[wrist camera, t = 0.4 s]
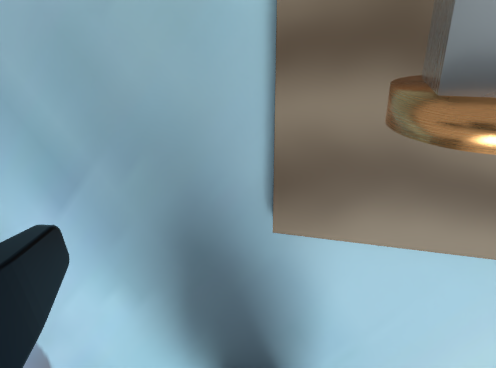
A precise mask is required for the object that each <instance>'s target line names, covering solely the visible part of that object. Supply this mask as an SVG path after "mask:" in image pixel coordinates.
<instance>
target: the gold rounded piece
mask: <svg viewBox="0 0 496 368" xmlns="http://www.w3.org/2000/svg"><path fill="white" fill-rule="evenodd" d="M385 123H386V125H387V126H388V127H389V128H390V129H391V130H393V131H394V132H396V133H398V134H400V135H403V136H405V137H408V138H410V139H413V140H416V141H419V142H423V143H427V144H430V145H435V146H439V147H444V148H449V149H454V150H460V151H467V152H474V153H482V154H492V155H496V0H434V6H433V12H432V18H431V24H430V30H429V36H428V42H427V48H426V55H425V61H424V67H423V73H422V75H417V76H408V77H402V78H398V79H395V80H393V81H391V83H390V89H389V97H388V104H387V112H386V119H385Z"/></svg>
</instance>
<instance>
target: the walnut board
mask: <svg viewBox="0 0 496 368" xmlns="http://www.w3.org/2000/svg"><path fill="white" fill-rule="evenodd" d="M433 6H434V0H277V27H276V83H275V138H274V194H273V233H281V234H289V235H297V236H305V237H314V238H322V239H330V240H338V241H346V242H355V243H363V244H371V245H379V246H387V247H395V248H404V249H412V250H420V251H428V252H436V253H445V254H453V255H461V256H469V257H477V258H486V259H494V260H496V155H492V154H482V153H474V152H467V151H460V150H454V149H449V148H444V147H439V146H435V145H430V144H427V143H423V142H419V141H416V140H413V139H410V138H408V137H405V136H403V135H400V134H398V133H396V132H394V131H393V130H391V129H390V128H389V127H388V126H387V125H386V123H385V119H386V112H387V104H388V97H389V89H390V83H391V81H393V80H395V79H398V78H402V77H408V76H417V75H422V73H423V67H424V61H425V55H426V48H427V42H428V36H429V30H430V24H431V18H432V12H433Z"/></svg>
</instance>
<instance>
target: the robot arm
mask: <svg viewBox="0 0 496 368" xmlns="http://www.w3.org/2000/svg"><path fill="white" fill-rule="evenodd" d="M68 265H69V253H68V251H67V248H66V245H65V242H64V239H63V236H62V233H61V231H60V229H59V228H58V227H57V226H55V225H35V226H33V227H31V228H29V229H27V230H25V231H23V232H21V233H19V234H17V235H15V236H13V237H11V238H9V239H7V240H5V241H3V242H1V243H0V368H23V366H24V364H25V362H26V360H27V359H28V357H29V355H30V353H31V351H32V349H33V347H34V345H35V343H36V341H37V339H38V337H39V335H40V333H41V331H42V329H43V327H44V325H45V322H46V320H47V318H48V315H49V313H50V310H51V308H52V305H53V303H54V300H55V298H56V295H57V293H58V290H59V288H60V286H61V283H62V281H63V278H64V276H65V273H66V271H67V268H68Z"/></svg>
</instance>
